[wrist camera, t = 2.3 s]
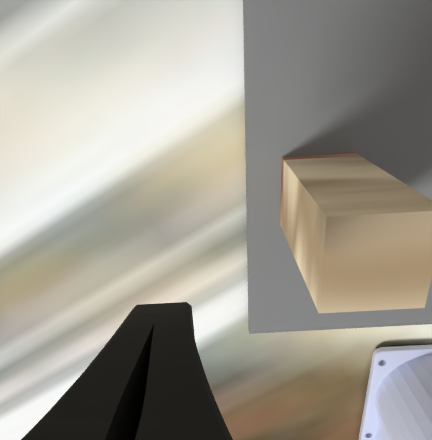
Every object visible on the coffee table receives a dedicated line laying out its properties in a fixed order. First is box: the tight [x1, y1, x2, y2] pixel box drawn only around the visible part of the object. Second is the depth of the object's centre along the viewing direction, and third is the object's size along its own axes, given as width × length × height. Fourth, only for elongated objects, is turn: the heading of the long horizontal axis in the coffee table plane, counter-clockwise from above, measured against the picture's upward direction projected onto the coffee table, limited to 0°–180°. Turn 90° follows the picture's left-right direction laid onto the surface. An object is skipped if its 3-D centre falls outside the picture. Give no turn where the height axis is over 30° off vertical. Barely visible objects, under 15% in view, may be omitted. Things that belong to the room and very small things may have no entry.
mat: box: [243, 0, 432, 334], centre depth 18 cm, size 20×18×1 cm
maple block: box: [280, 153, 432, 313], centre depth 15 cm, size 4×4×7 cm
